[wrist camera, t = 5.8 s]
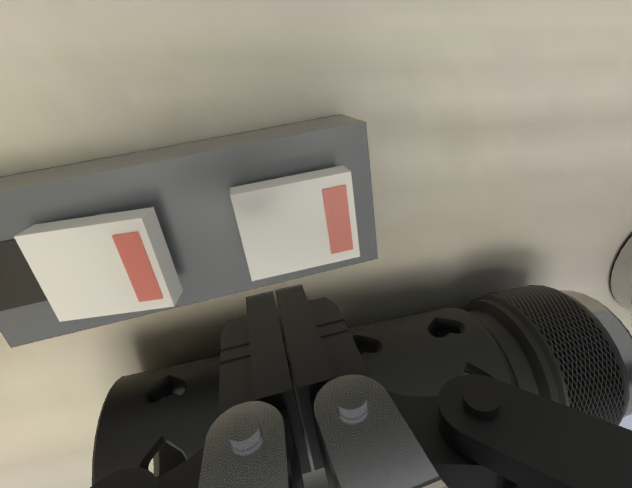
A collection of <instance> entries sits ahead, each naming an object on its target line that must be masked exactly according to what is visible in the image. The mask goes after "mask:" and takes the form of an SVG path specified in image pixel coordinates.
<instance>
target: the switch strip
mask: <svg viewBox="0 0 632 488" xmlns="http://www.w3.org/2000/svg"><path fill="white" fill-rule="evenodd" d="M342 165H344V166H345V167H346V168H347V169H349V170H350V171H351V177H352V186H353V195H354V204H355V214H356V223H357V232H358V241H359V250H360V257H356V258H352V259H348V260H343V261H339V262H334V263H330V264H326V265H321V266H317V267H312V268H308V269H304V270H299V271H295V272H291V273H286V274H282V275H277V276H273V277H269V278H264V279H260V280H255V281H252V279H251V275H250V272H249V268H248V264H247V260H246V256H245V252H244V248H243V244H242V240H241V236H240V232H239V228H238V224H237V221H236V217H235V213H234V209H233V205H232V201H231V197H230V188H231V187H236V186H241V185H246V184H251V183H256V182H261V181H266V180H271V179H276V178H281V177H286V176H292V175H297V174H302V173H307V172H312V171H317V170H322V169H327V168H332V167H337V166H342ZM150 207H154V210H155V212H156V215H157V218H158V221H159V224H160V227H161V230H162V232H163V235H164V238H165V241H166V244H167V247H168V249H169V252H170V255H171V258H172V261H173V264H174V267H175V269H176V272H177V275H178V278H179V281H180V284H181V287H182V289H183V292H182V294H181V295H180V297H179V299H178V301H177V303H176V304H175V306H174V307H167V308H159V309H152V310H144V311H137V312H129V313H122V314H114V315H107V316H99V317H92V318H84V319H77V320H69V321H62V322H59V320H58V318H57V316H56V314H55V312H54V311H53V309H52V307H51V305H50V303H49V301H48V299H47V298H46V296H45V294H44V292H43V290H42V288H41V286H40V285H39V283H38V281H37V279H36V277H35V275H34V273H33V272H32V270H31V268H30V266H29V264H28V262H27V260H26V259H25V257H24V255H23V253H22V251H21V249H20V247H19V246H18V244H17V242H16V240H15V238H14V236H16V235H17V234H19V233H21V232H22V231H24V230H26V229H28V228H29V227H31V226H33V225H34V224H41V223H48V222H55V221H61V220H68V219H75V218H82V217H89V216H95V215H102V214H109V213H116V212H123V211H130V210H136V209H143V208H150ZM374 259H378V256H377V244H376V232H375V221H374V209H373V197H372V186H371V174H370V163H369V151H368V139H367V128H366V122H364V121H361V120H358V119H354V118H351V117H348V116H345V115H335V116H330V117H325V118H319V119H314V120H308V121H303V122H297V123H292V124H286V125H281V126H276V127H270V128H265V129H259V130H254V131H248V132H243V133H238V134H232V135H227V136H221V137H216V138H210V139H205V140H200V141H194V142H189V143H183V144H178V145H172V146H167V147H162V148H156V149H151V150H145V151H140V152H134V153H129V154H123V155H118V156H113V157H107V158H102V159H96V160H91V161H85V162H80V163H75V164H69V165H64V166H58V167H53V168H47V169H42V170H37V171H31V172H26V173H20V174H15V175H9V176H4V177H0V331H1V333H2V335H3V336H4V338H5V339H6V341H7V342H8V344H9V346H10V347H11V348H12V347H16V346H20V345H24V344H28V343H32V342H37V341H41V340H45V339H49V338H53V337H57V336H61V335H65V334H69V333H74V332H78V331H82V330H86V329H90V328H94V327H98V326H102V325H106V324H111V323H115V322H119V321H123V320H127V319H131V318H135V317H139V316H143V315H148V314H152V313H156V312H160V311H164V310H168V309H172V308H176V307H180V306H185V305H189V304H193V303H197V302H201V301H205V300H209V299H213V298H217V297H222V296H226V295H230V294H234V293H238V292H242V291H246V290H250V289H254V288H259V287H263V286H267V285H271V284H275V283H279V282H283V281H287V280H291V279H296V278H300V277H304V276H308V275H312V274H316V273H320V272H324V271H328V270H333V269H337V268H341V267H345V266H349V265H353V264H357V263H361V262H365V261H370V260H374Z"/></svg>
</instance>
